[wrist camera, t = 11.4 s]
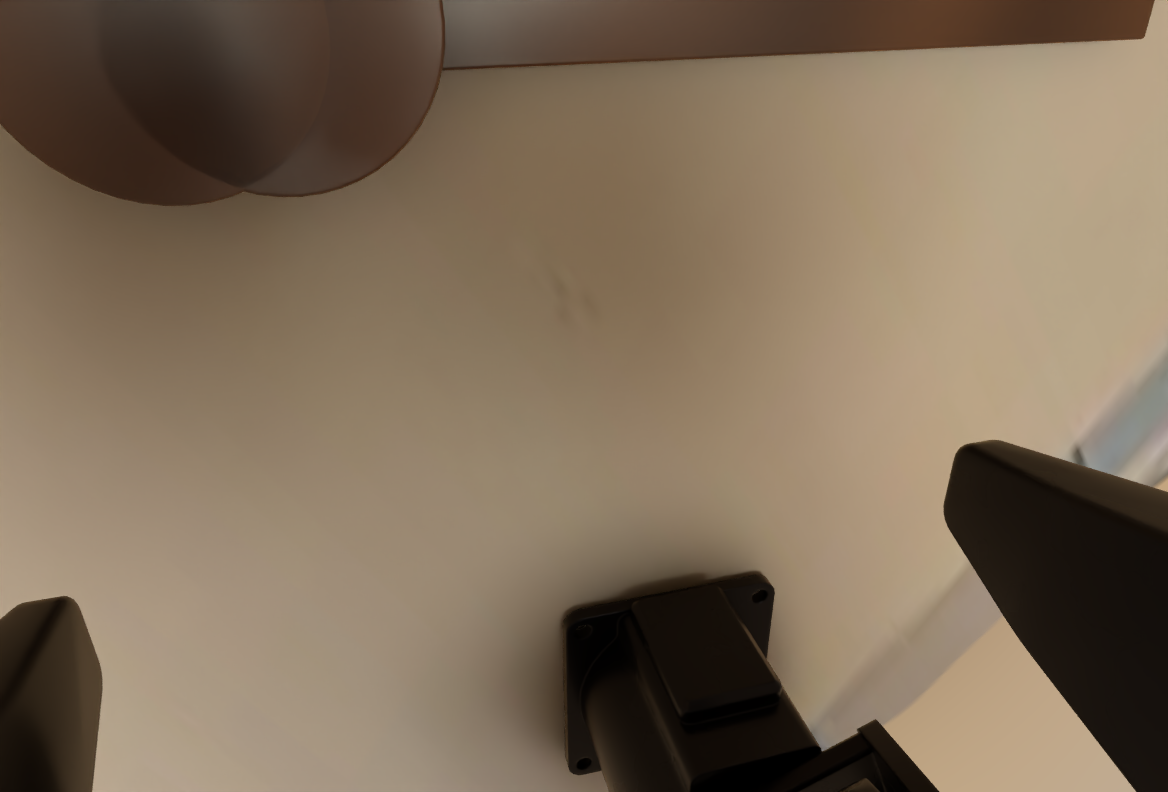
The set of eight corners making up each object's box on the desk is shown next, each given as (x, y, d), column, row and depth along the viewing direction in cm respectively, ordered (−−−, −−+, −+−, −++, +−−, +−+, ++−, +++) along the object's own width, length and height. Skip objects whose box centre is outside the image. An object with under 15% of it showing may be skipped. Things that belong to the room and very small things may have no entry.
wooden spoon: (1160, -152, 20) (1219, -158, 18) (1089, 123, 23) (1136, 134, 21) (-84, -175, 14) (-124, -185, 13) (30, 197, 17) (7, 220, 16)
